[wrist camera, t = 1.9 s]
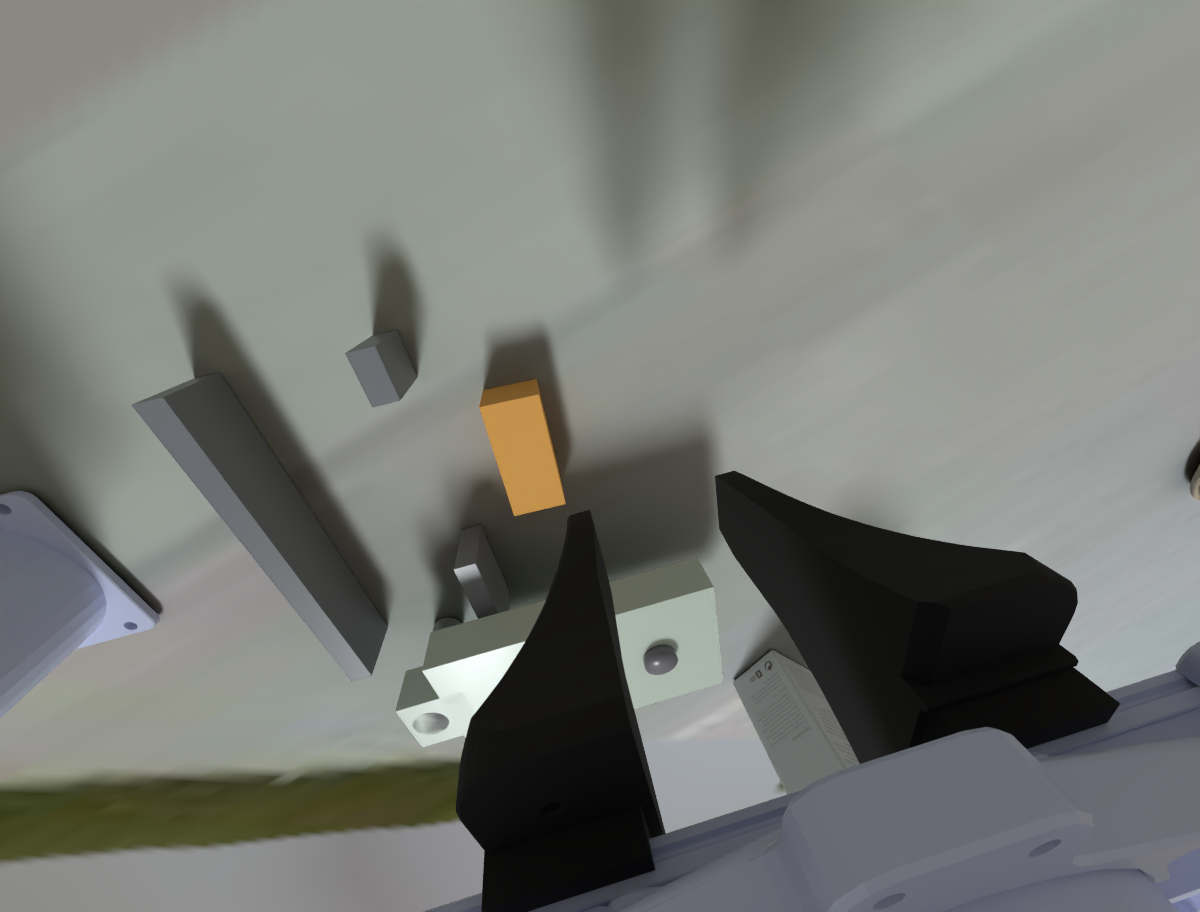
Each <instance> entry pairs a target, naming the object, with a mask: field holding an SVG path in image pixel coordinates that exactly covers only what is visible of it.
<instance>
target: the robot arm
mask: <svg viewBox="0 0 1200 912" xmlns="http://www.w3.org/2000/svg"><path fill="white" fill-rule="evenodd" d="M715 481H716V493H717V505H718V517H719V529H720V531H721V533H722V534H723V536H724V538H725V540H726V542H727V544H728V546H729V548H730V549H731V551H732V553H733V555H734V556H735V558H736V559H737V561H738V562H739V563H740V565H741V566H742V568H743V569H744V570H745V572H746V573H747V575H748V576H749V577H750V579H751V580H752V581H753V583H754V584H755V585H756V587H757V588H758V590H759V591H760V592H761V594H762V595H763V596H764V598H765V599H766V600H767V602H768V603H769V605H770V606H771V607H772V609H773V610H774V611H775V613H776V614H777V616H778V617H779V619H780V620H781V622H782V623H783V625H784V626H785V628H786V629H787V631H788V633H789V634H790V636H791V638H792V639H793V641H794V643H795V645H796V646H797V648H798V650H799V651H800V653H801V655H802V657H803V658H804V660H805V662H806V664H807V665H808V667H809V669H810V671H811V673H812V674H813V676H814V678H815V680H816V681H817V683H818V685H819V687H820V689H821V690H822V692H823V694H824V696H825V698H826V700H827V702H828V703H829V705H830V707H831V709H832V711H833V713H834V715H835V717H836V719H837V720H838V722H839V724H840V726H841V728H842V730H843V732H844V734H845V736H846V738H847V740H848V742H849V744H850V746H851V748H852V750H853V752H854V754H855V755H856V757H857V759H858V761H859V763H860V764H859V765H855V766H852V767H849V768H846V769H843V770H840V771H837V772H835V773H833V774H830V775H828V776H826V777H824V778H822V779H819V780H817V781H815V782H813V783H811V784H809V785H808V786H807V787H806V788H805V789H803V790H800V791H797V792H794V793H791V794H788V795H785V796H782V797H779V798H776V799H772V800H769V801H767V802H763V803H760V804H757V805H754V806H751V807H748V808H745V809H741V810H738V811H735V812H732V813H729V814H726V815H723V816H720V817H717V818H713V819H710V820H707V821H704V822H701V823H698V824H695V825H692V826H688V827H685V828H682V829H679V830H676V831H673V832H670V833H667V834H666V833H665V830H664V826H663V822H662V818H661V814H660V810H659V806H658V802H657V799H656V795H655V790H654V786H653V783H652V778H651V775H650V771H649V767H648V763H647V759H646V755H645V751H644V747H643V743H642V739H641V735H640V731H639V727H638V723H637V719H636V715H635V711H634V707H633V703H632V699H631V695H630V691H629V687H628V683H627V679H626V675H625V671H624V666H623V661H622V655H621V648H620V642H619V636H618V629H617V623H616V617H615V610H614V604H613V598H612V592H611V588H610V584H609V580H608V576H607V572H606V569H605V565H604V561H603V557H602V553H601V550H600V546H599V542H598V538H597V535H596V531H595V527H594V523H593V519H592V516H591V512H590V510H588V511H585V512H581V513H577V514H574V515H570V516H569V518H568V519H567V531H566V537H565V542H564V547H563V551H562V554H561V558H560V562H559V566H558V569H557V572H556V575H555V577H554V580H553V583H552V586H551V589H550V591H549V594H548V596H547V599H546V601H545V603H544V606H543V608H542V610H541V612H540V614H539V616H538V619H537V620H536V622H535V624H534V626H533V628H532V630H531V632H530V634H529V636H528V637H527V639H526V641H525V643H524V644H523V646H522V648H521V650H520V651H519V653H518V654H517V656H516V657H515V659H514V660H513V662H512V663H511V665H510V666H509V668H508V670H507V671H506V673H505V674H504V676H503V677H502V679H501V680H500V681H499V683H498V684H497V686H496V687H495V688H494V689H493V691H492V692H491V693H490V695H489V696H488V697H487V699H486V700H485V701H484V702H483V704H482V705H481V706H480V708H479V709H478V710H477V711H476V713H475V714H474V715H473V716H472V717H471V720H470V723H469V727H468V731H467V735H466V738H465V743H464V748H463V752H462V756H461V762H460V769H459V780H458V790H457V801H456V812H457V814H458V816H459V819H460V821H461V822H462V823H463V824H464V825H465V827H466V828H467V829H468V831H469V832H470V833H471V834H472V835H473V837H474V838H475V839H476V840H477V842H478V843H479V844H480V846H481V847H482V848H483V849H484V850H485V855H484V873H483V890H482V893H480V894H477V895H474V896H471V897H467V898H464V899H461V900H458V901H455V902H452V903H449V904H446V905H443V906H439V907H436V908H433V909H430V910H427V911H424V912H1200V642H1198V643H1196V644H1195V645H1193V646H1192V647H1190V648H1189V649H1188V650H1187V651H1186V652H1185V653H1184V654H1183V655H1182V657H1181V658H1180V659H1179V661H1178V663H1177V665H1176V670H1174V671H1171V672H1168V673H1165V674H1161V675H1158V676H1155V677H1152V678H1149V679H1146V680H1143V681H1140V682H1137V683H1133V684H1130V685H1127V686H1124V687H1121V688H1118V689H1115V690H1112V691H1109V692H1105V691H1104V690H1102V689H1101V688H1100V687H1098V686H1097V685H1096V684H1094V683H1093V682H1092V681H1090V680H1089V679H1088V678H1087V677H1085V676H1084V675H1083V674H1081V673H1080V672H1079V671H1077V670H1076V669H1075V668H1074V666H1077V664H1078V660H1077V658H1076V656H1074V655H1073V654H1072V653H1070V652H1069V651H1068V650H1066V649H1065V648H1063V647H1062V646H1061V645H1059V643H1060V641H1061V639H1062V637H1063V635H1064V633H1065V631H1066V629H1067V627H1068V625H1069V623H1070V621H1071V619H1072V617H1073V615H1074V612H1075V609H1076V606H1077V603H1078V600H1077V590H1076V588H1075V586H1074V585H1073V583H1072V582H1071V581H1070V580H1068V579H1066V578H1065V577H1063V576H1062V575H1060V574H1058V573H1057V572H1055V571H1053V570H1052V569H1050V568H1049V567H1047V566H1045V565H1044V564H1042V563H1040V562H1039V561H1037V560H1036V559H1034V558H1032V557H1031V556H1029V555H1027V554H1026V553H1023V552H1014V551H1006V550H997V549H989V548H981V547H972V546H965V545H959V544H953V543H947V542H941V541H935V540H930V539H925V538H920V537H915V536H910V535H906V534H902V533H898V532H893V531H889V530H885V529H881V528H877V527H874V526H870V525H866V524H863V523H860V522H857V521H853V520H850V519H847V518H844V517H841V516H838V515H835V514H832V513H829V512H827V511H824V510H821V509H819V508H816V507H814V506H811V505H809V504H806V503H804V502H801V501H799V500H797V499H794V498H792V497H790V496H787V495H785V494H783V493H781V492H779V491H777V490H774V489H772V488H770V487H768V486H766V485H764V484H762V483H760V482H758V481H756V480H753V479H751V478H749V477H747V476H745V475H743V474H741V473H738V472H736V471H732V472H728V473H724V474H720V475H717V476H715ZM9 507H10V508H9ZM159 620H160V617H159V616H158V614H157V613H156V612H155V611H154V610H153V609H152V608H151V607H150V606H149V605H148V604H147V603H145V602H144V601H143V600H142V599H141V598H140V597H139V596H138V595H137V594H136V593H135V592H134V591H133V590H132V589H131V588H130V587H129V586H128V585H127V584H126V583H125V582H124V581H123V580H122V579H121V578H120V577H119V576H118V575H117V574H116V573H115V572H114V571H112V570H111V569H110V568H109V567H108V566H107V565H106V564H105V563H104V562H103V561H102V560H101V559H100V558H99V557H98V556H97V555H96V554H95V553H94V552H93V551H92V550H91V549H90V548H89V547H88V546H87V545H86V544H85V543H84V542H83V541H82V540H81V539H79V538H78V537H77V536H76V535H75V534H74V533H73V532H72V531H71V530H70V529H69V528H68V527H67V526H66V525H65V524H64V523H63V522H62V521H61V520H60V519H59V518H58V517H57V516H56V515H55V514H54V513H53V512H52V511H51V510H50V509H49V508H48V507H46V506H45V505H44V504H43V503H42V502H41V501H40V500H39V499H38V498H37V497H36V496H34V495H33V494H30V493H28V492H24V491H13V492H9V493H5V494H1V495H0V718H1V717H2V716H3V715H5V714H6V713H7V712H8V711H9V710H10V709H11V708H12V707H13V706H14V705H15V704H16V703H18V702H19V701H20V700H21V699H22V698H23V697H24V696H25V695H26V694H27V693H28V692H30V691H31V690H32V689H33V688H34V687H35V686H36V685H37V684H38V683H39V682H40V681H41V680H43V679H44V678H45V677H46V676H47V675H48V674H49V673H50V672H51V671H52V670H53V669H55V668H56V667H57V666H58V665H59V664H60V663H61V662H62V661H63V660H64V659H65V658H66V657H68V656H69V655H70V654H71V653H72V652H73V651H74V650H75V649H79V648H82V647H86V646H90V645H93V644H97V643H101V642H104V641H108V640H112V639H115V638H119V637H123V636H126V635H130V634H134V633H137V632H141V631H145V630H148V629H151V628H153V627H154V626H155V625H156V624H157V623H158V622H159Z"/></svg>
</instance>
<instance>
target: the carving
mask: <svg viewBox="0 0 1200 912" xmlns="http://www.w3.org/2000/svg"><path fill="white" fill-rule="evenodd" d="M1190 492H1191V495H1192V496H1193V497H1194V498H1195V499H1197V500H1200V465H1199V467H1198V468H1197V470H1196V472H1195V474H1194V476H1193V478H1192V481H1191V485H1190Z"/></svg>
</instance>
